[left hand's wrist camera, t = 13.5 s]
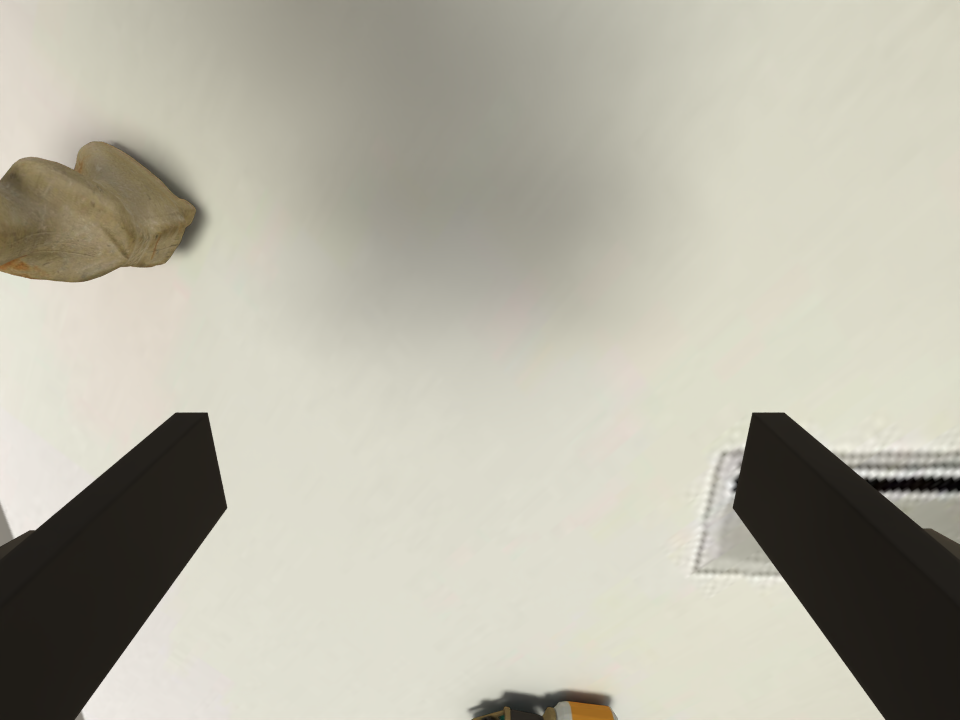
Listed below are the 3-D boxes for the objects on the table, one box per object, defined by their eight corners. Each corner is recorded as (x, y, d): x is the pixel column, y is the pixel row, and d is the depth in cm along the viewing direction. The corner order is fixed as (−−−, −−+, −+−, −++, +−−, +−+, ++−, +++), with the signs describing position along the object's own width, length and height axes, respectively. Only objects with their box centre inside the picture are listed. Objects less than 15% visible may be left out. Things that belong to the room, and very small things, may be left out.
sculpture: (115, 122, 31) (-182, 100, 17) (222, 204, 33) (31, 245, 19) (73, 200, 33) (-229, 238, 19) (177, 274, 34) (-29, 360, 21)
